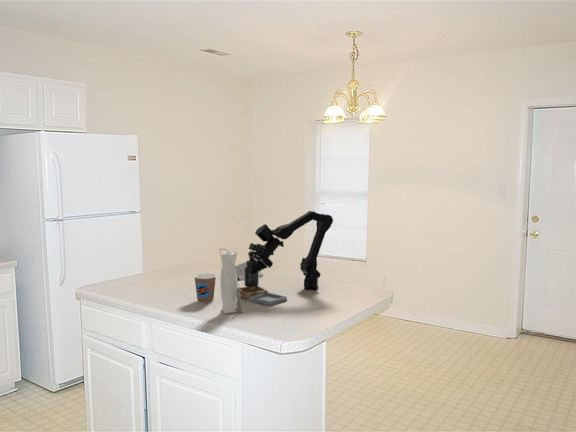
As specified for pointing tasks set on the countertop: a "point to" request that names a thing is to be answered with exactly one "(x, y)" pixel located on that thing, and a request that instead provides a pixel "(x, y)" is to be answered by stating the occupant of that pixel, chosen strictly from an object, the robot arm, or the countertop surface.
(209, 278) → the coffee cup
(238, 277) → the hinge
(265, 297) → the tray
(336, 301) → the countertop surface
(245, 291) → the slot holder
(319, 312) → the countertop surface
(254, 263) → the supplement bottle
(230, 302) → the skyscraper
